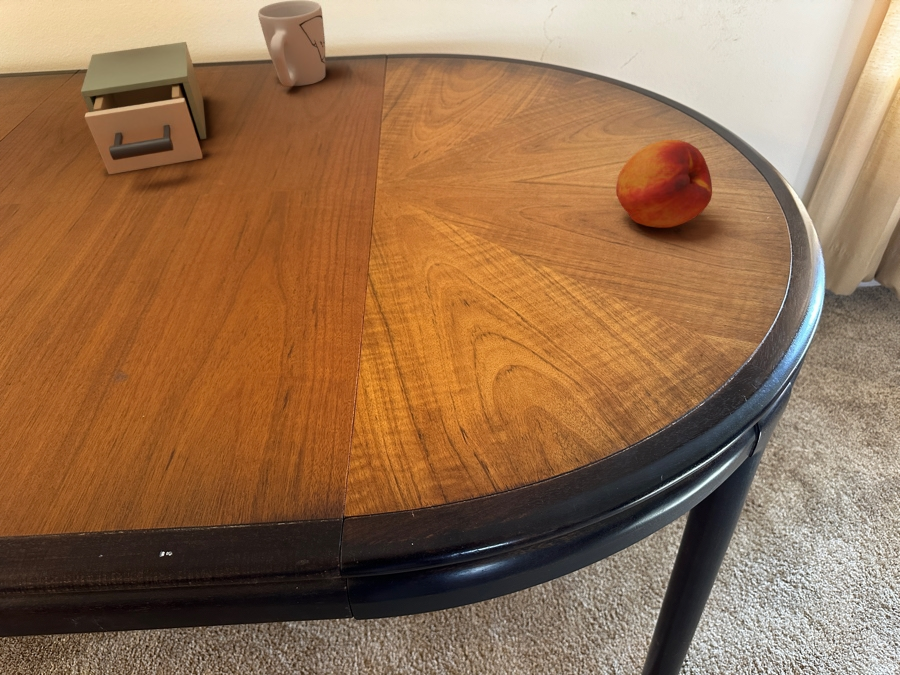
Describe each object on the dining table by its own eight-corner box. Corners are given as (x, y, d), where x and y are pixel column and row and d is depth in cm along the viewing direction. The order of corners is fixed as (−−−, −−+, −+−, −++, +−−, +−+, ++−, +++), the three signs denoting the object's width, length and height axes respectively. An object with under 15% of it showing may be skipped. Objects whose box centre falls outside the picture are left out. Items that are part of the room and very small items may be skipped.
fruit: (648, 254, 58) (663, 172, 53) (595, 213, 64) (604, 135, 58) (716, 231, 60) (738, 150, 55) (660, 193, 66) (674, 117, 61)
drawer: (204, 178, 71) (184, 119, 67) (105, 196, 69) (78, 136, 65) (199, 118, 84) (183, 65, 79) (116, 131, 82) (95, 77, 77)
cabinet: (208, 145, 79) (187, 75, 74) (110, 162, 77) (80, 91, 72) (205, 105, 89) (186, 41, 84) (117, 119, 87) (91, 54, 81)
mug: (316, 103, 88) (301, 25, 81) (257, 102, 89) (238, 25, 83) (340, 73, 96) (328, -1, 90) (286, 72, 98) (271, 0, 91)
